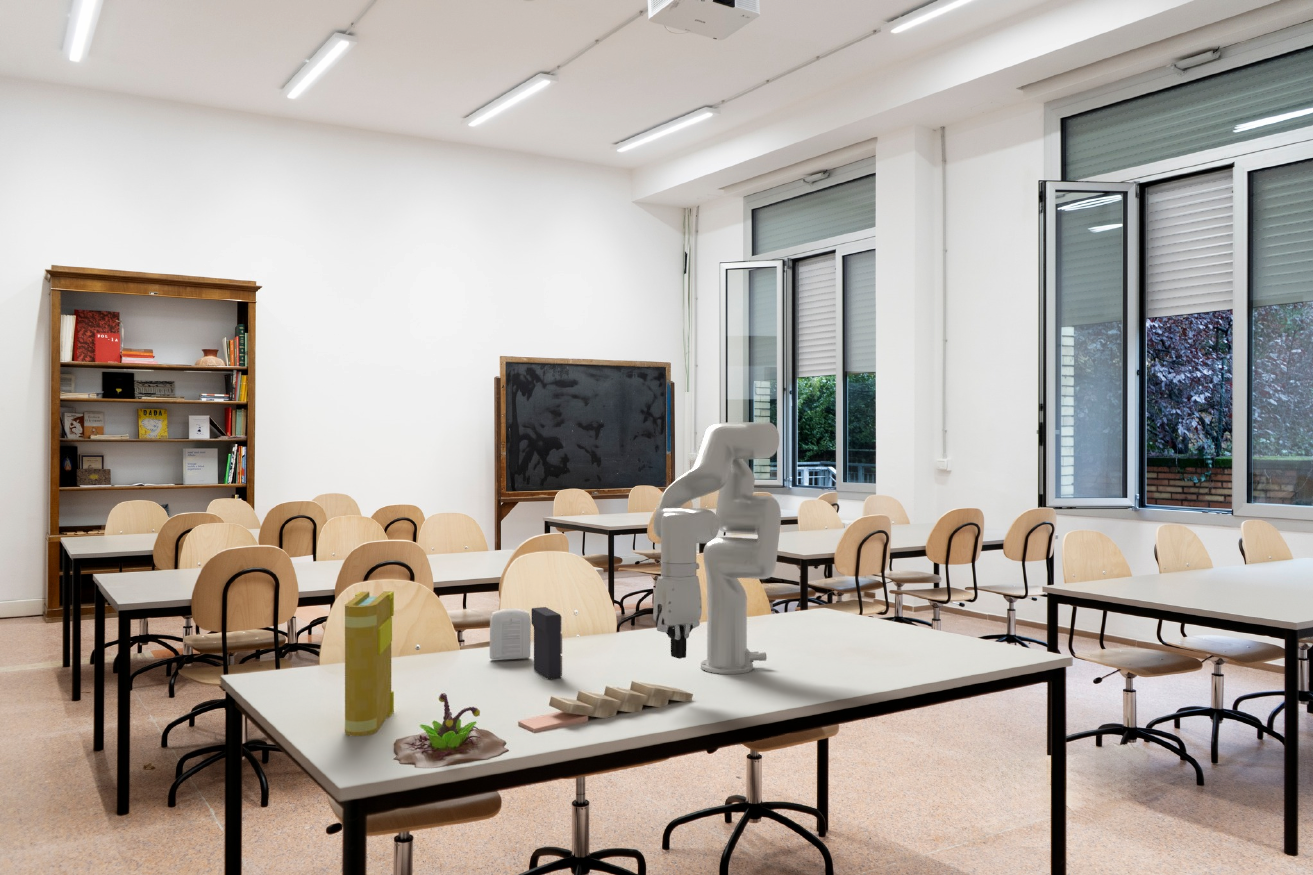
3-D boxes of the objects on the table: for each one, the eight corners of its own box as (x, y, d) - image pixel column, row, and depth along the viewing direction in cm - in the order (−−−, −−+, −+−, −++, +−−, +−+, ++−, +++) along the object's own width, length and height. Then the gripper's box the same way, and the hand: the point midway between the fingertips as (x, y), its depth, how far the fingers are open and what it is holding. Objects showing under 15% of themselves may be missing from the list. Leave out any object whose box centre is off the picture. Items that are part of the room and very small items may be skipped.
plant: (485, 734, 184) (485, 675, 184) (521, 766, 166) (521, 701, 166) (378, 751, 174) (378, 689, 174) (404, 787, 157) (404, 718, 157)
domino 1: (571, 708, 192) (518, 721, 185) (588, 715, 187) (534, 728, 180) (571, 717, 192) (518, 730, 185) (588, 724, 187) (534, 738, 180)
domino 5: (675, 687, 208) (631, 680, 201) (693, 693, 203) (649, 687, 196) (673, 696, 208) (629, 689, 201) (691, 702, 203) (647, 695, 196)
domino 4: (650, 692, 204) (605, 685, 197) (668, 699, 199) (623, 692, 192) (649, 701, 204) (603, 694, 197) (666, 708, 199) (621, 701, 192)
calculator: (564, 678, 224) (564, 614, 224) (546, 681, 222) (546, 615, 222) (548, 668, 234) (548, 606, 233) (531, 670, 232) (531, 607, 232)
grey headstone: (529, 654, 248) (529, 606, 247) (531, 658, 243) (531, 609, 243) (489, 656, 245) (489, 608, 245) (490, 660, 241) (490, 611, 241)
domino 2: (600, 703, 196) (551, 696, 189) (617, 710, 191) (567, 703, 184) (597, 712, 196) (548, 705, 189) (614, 719, 191) (565, 712, 184)
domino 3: (625, 698, 200) (578, 690, 193) (642, 704, 195) (595, 697, 188) (623, 706, 200) (576, 699, 193) (640, 713, 195) (593, 706, 188)
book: (359, 715, 195) (359, 591, 194) (393, 714, 195) (393, 591, 195) (339, 742, 178) (339, 606, 178) (376, 741, 178) (376, 606, 178)
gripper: (694, 565, 212) (694, 649, 212) (639, 571, 203) (639, 658, 203) (717, 569, 206) (716, 655, 206) (661, 575, 197) (661, 665, 197)
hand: (678, 656), depth 205 cm, fingers closed
